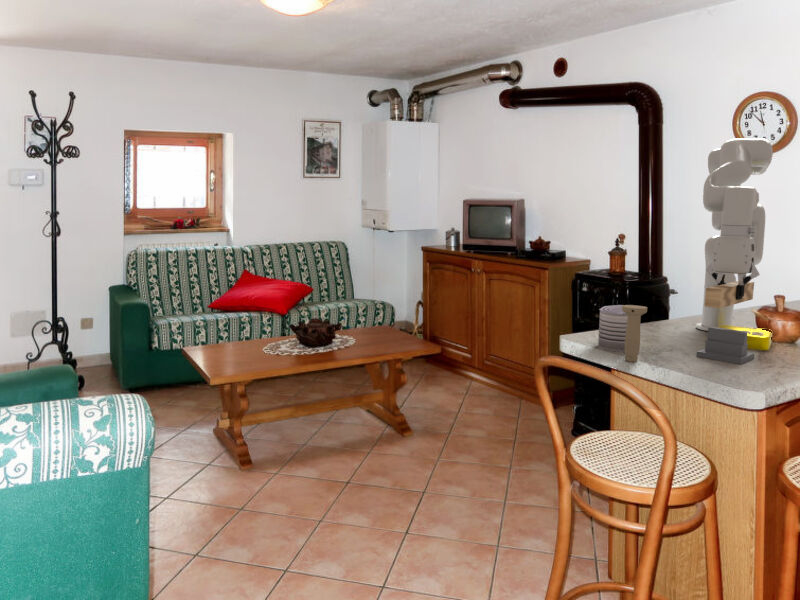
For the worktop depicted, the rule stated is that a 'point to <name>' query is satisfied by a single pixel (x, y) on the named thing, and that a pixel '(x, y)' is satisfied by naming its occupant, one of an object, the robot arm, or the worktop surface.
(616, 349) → the can
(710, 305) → the oak batten
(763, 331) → the element tile
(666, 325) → the worktop surface
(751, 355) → the fulcrum stand
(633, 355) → the handle
